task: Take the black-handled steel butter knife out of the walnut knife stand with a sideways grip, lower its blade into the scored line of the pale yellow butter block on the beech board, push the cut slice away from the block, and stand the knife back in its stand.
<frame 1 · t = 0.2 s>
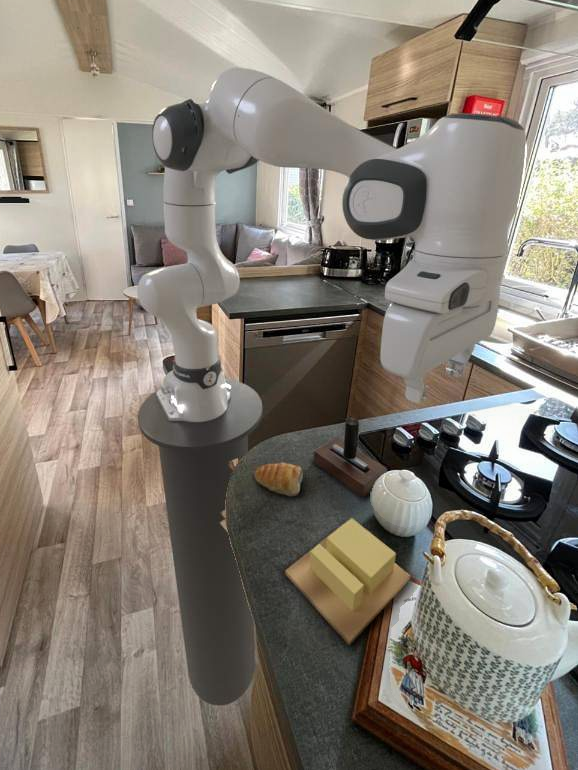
hand: (435, 386, 47), 32 cm above the worktop, tool pointing down, fingers open, 8 cm apart
butter: (358, 562, 58), point 1 cm above the worktop, touching board
board: (346, 576, 57), on the worktop
knife: (350, 446, 75), in the knife stand
butter slice: (334, 584, 55), point 1 cm above the worktop, touching board
pastry: (281, 484, 75), on the worktop
knife stand: (348, 471, 78), on the worktop
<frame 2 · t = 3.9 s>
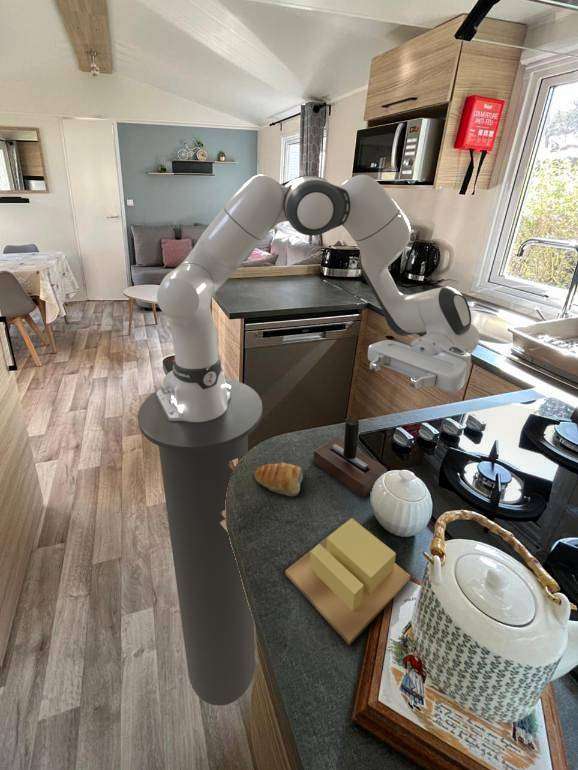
hand: (392, 375, 77), 18 cm above the worktop, tool horizontal, fingers open, 8 cm apart
nothing on the worktop moved.
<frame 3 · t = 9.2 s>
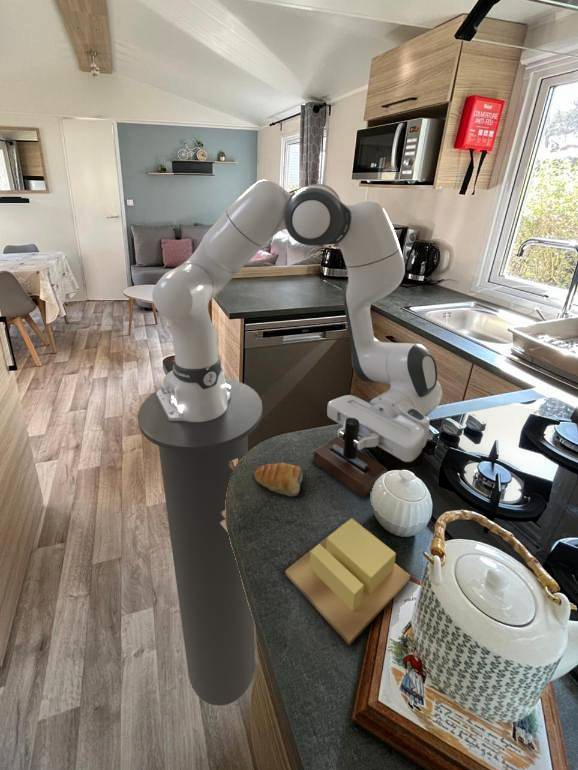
hand: (348, 440, 74), 8 cm above the worktop, tool horizontal, fingers closed on knife, 2 cm apart
knife: (350, 446, 75), in the knife stand, touching gripper
everything else where it was.
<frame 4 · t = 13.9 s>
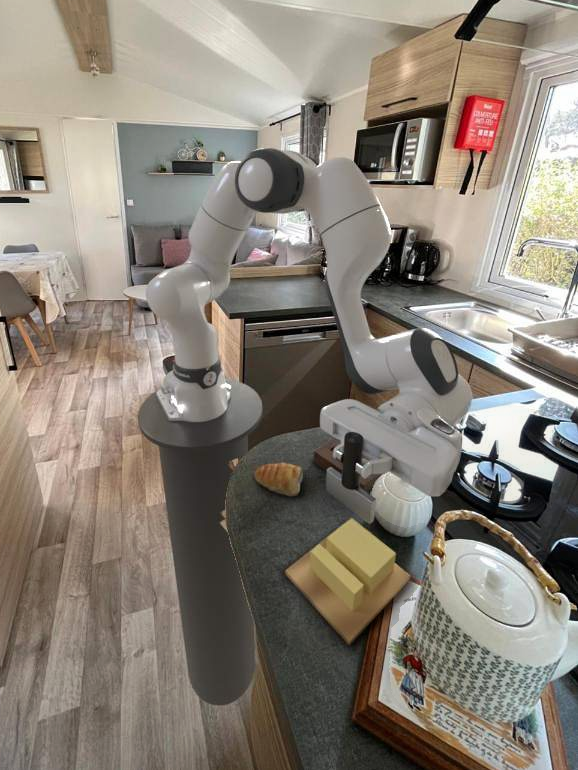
hand: (348, 463, 53), 19 cm above the worktop, tool horizontal, fingers closed on knife, 2 cm apart
knife: (351, 472, 54), point 17 cm above the worktop, touching gripper
everything else where it was.
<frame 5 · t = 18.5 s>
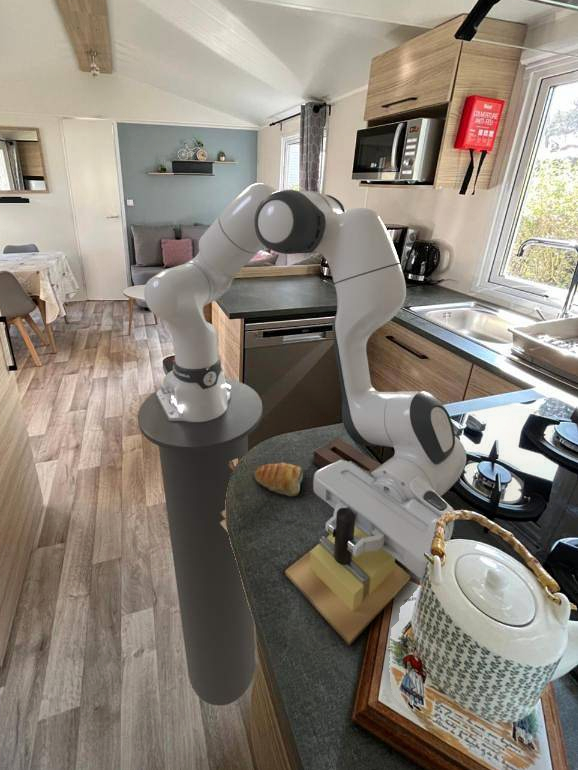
hand: (340, 540, 53), 9 cm above the worktop, tool horizontal, fingers closed on knife, 2 cm apart
knife: (343, 546, 54), point 7 cm above the worktop, touching gripper
everything else where it was.
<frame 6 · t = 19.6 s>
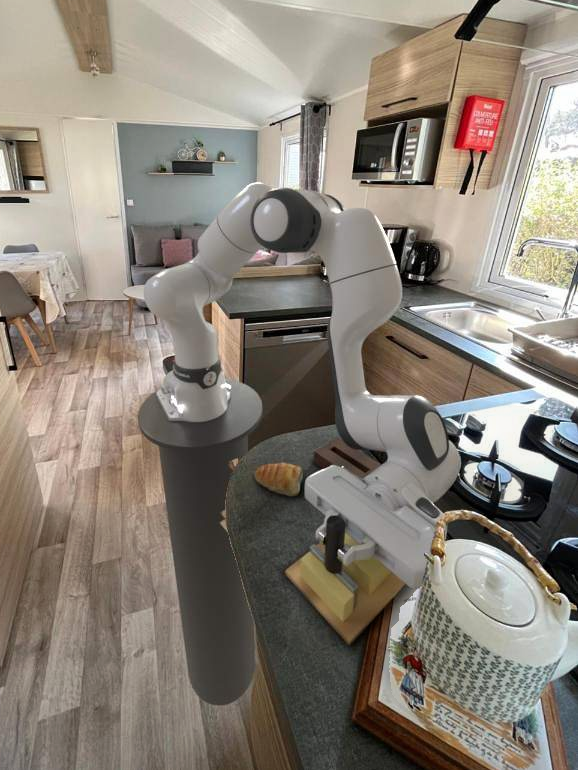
hand: (330, 548, 51), 9 cm above the worktop, tool horizontal, fingers closed on knife, 2 cm apart
knife: (333, 555, 53), point 7 cm above the worktop, touching butter slice, gripper
butter slice: (325, 593, 54), point 1 cm above the worktop, touching board, knife
everything else where it was.
when the fingers open (8 cm above the worktop, at t = 27.7 s): knife stays where it is, resting in knife stand.
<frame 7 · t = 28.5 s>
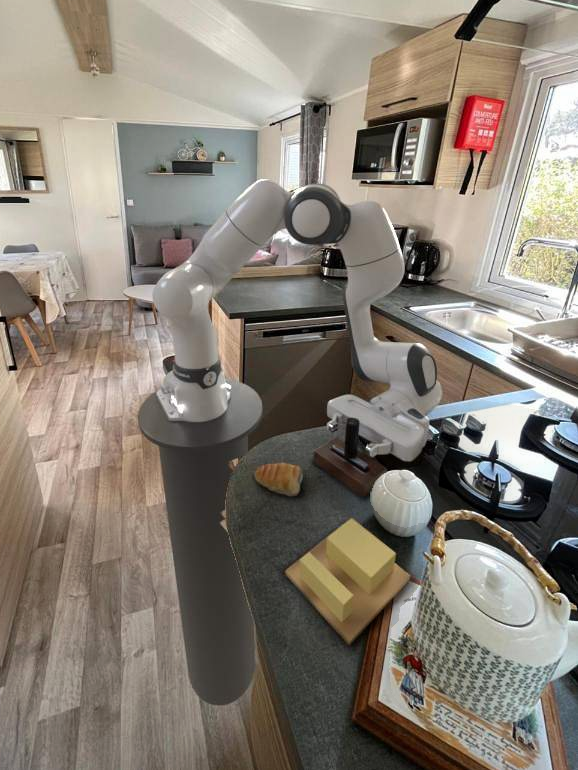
hand: (348, 439, 74), 8 cm above the worktop, tool horizontal, fingers open, 8 cm apart
knife: (350, 446, 75), in the knife stand
butter slice: (324, 593, 54), point 1 cm above the worktop, touching board
everything else where it was.
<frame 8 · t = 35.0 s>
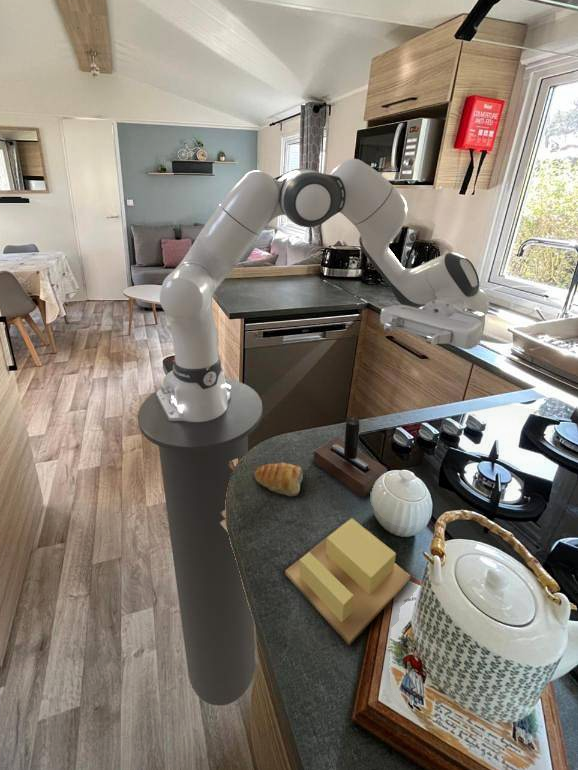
hand: (407, 333, 77), 26 cm above the worktop, tool horizontal, fingers open, 8 cm apart
nothing on the worktop moved.
at the end: butter slice moved 2.2 cm from its start; butter moved 0.0 cm from its start; knife 0.1 cm off-centre on the knife stand, point 6.0 cm above the knife stand's base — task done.
